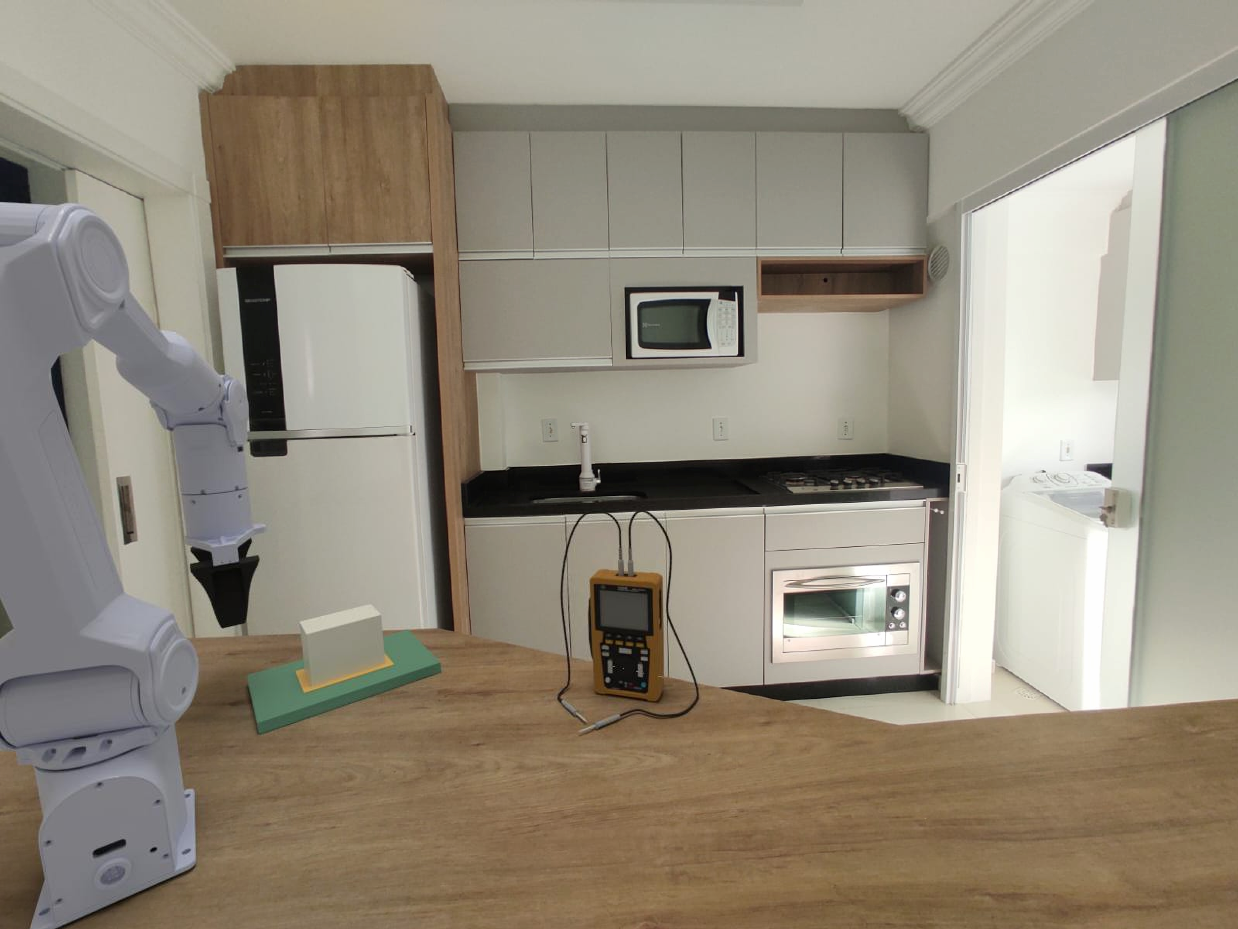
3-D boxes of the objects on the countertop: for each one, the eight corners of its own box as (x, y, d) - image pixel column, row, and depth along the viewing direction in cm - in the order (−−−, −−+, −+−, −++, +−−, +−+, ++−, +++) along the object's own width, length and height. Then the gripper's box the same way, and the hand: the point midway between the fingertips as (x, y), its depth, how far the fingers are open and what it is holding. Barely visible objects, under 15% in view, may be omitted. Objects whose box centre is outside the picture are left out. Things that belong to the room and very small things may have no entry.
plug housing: (385, 663, 63) (381, 614, 63) (312, 687, 59) (306, 634, 58) (375, 650, 67) (370, 604, 66) (304, 671, 62) (299, 621, 61)
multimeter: (532, 729, 52) (521, 527, 50) (571, 677, 62) (564, 505, 59) (682, 754, 48) (679, 534, 45) (700, 694, 57) (698, 509, 55)
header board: (441, 671, 64) (438, 642, 63) (259, 734, 53) (254, 699, 52) (408, 638, 73) (406, 611, 73) (248, 685, 62) (244, 654, 62)
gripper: (268, 493, 54) (283, 624, 56) (254, 478, 65) (267, 587, 67) (176, 504, 49) (196, 645, 51) (179, 486, 61) (195, 602, 63)
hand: (231, 613), depth 59 cm, fingers open, 7 cm apart
